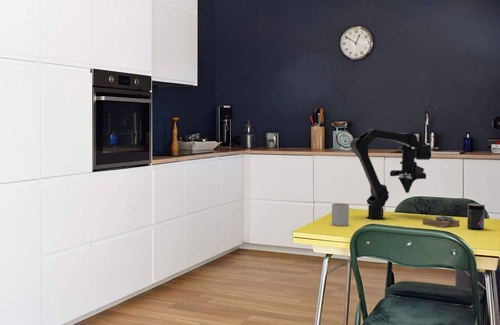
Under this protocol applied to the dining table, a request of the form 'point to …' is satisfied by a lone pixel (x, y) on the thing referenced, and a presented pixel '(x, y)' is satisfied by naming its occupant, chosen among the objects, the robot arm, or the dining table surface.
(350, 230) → the dining table surface
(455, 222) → the dock
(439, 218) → the socket
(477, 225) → the supplement container
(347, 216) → the cup
